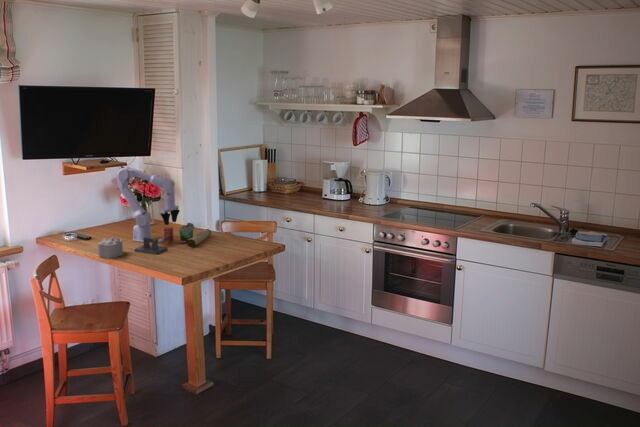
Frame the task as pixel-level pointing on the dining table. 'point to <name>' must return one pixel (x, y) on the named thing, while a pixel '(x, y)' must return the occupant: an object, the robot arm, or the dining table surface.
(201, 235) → the rolling pin
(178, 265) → the dining table surface
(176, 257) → the dining table surface
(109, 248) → the lumpy-topped squat cylinder
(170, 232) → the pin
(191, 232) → the food container
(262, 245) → the dining table surface
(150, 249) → the eye bracket
